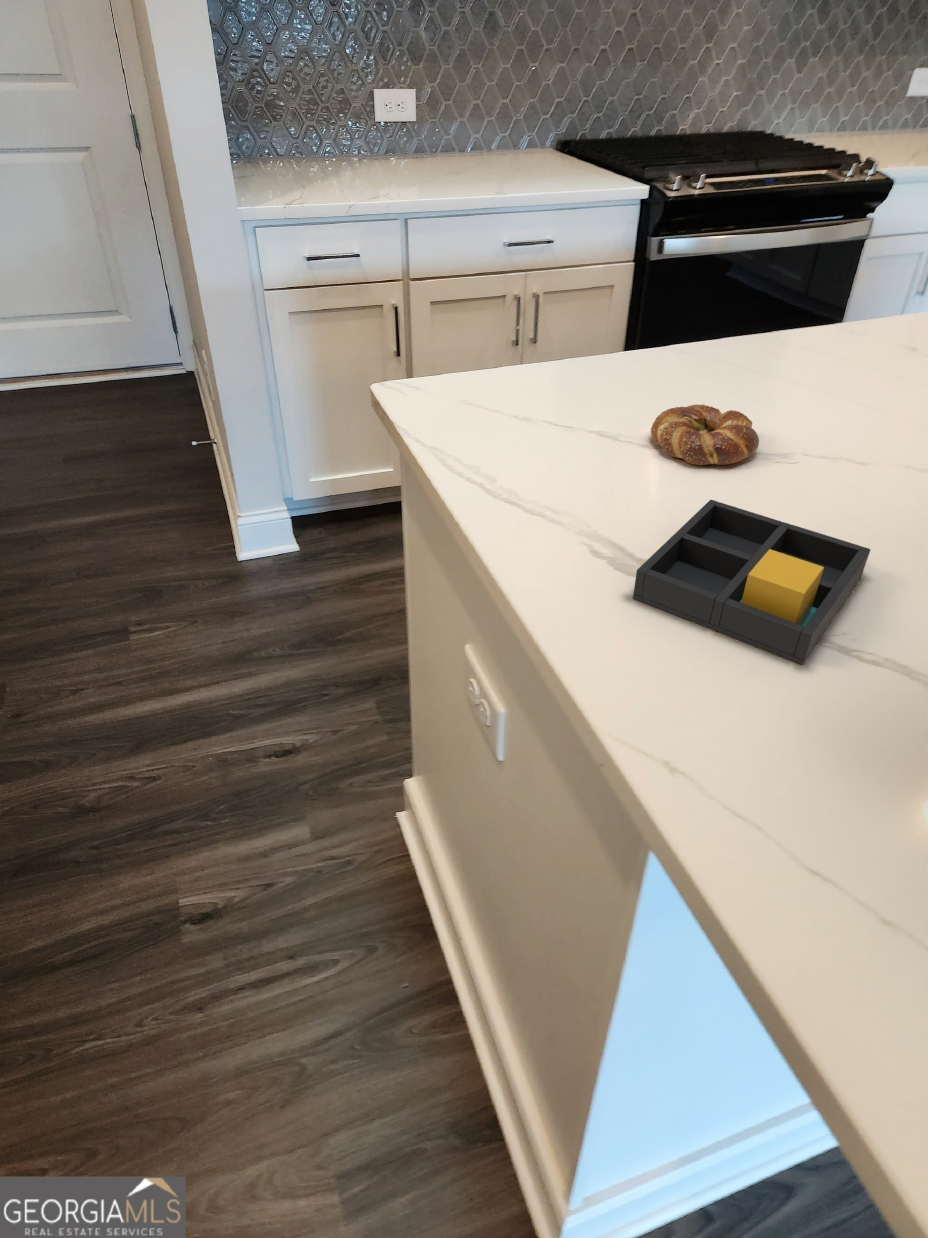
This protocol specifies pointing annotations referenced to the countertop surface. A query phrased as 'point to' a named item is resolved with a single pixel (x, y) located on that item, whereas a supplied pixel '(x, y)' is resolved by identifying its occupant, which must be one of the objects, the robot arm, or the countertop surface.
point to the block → (783, 586)
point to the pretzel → (705, 435)
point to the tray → (718, 569)
